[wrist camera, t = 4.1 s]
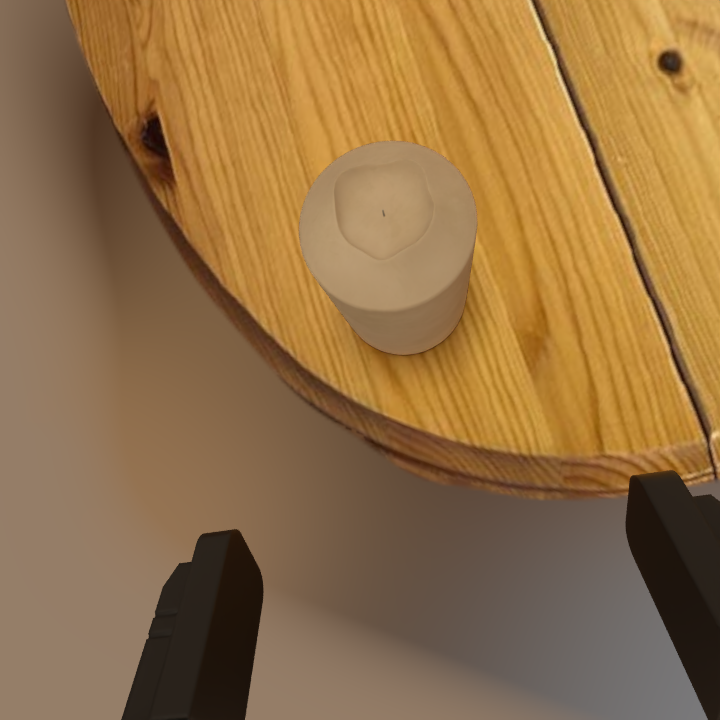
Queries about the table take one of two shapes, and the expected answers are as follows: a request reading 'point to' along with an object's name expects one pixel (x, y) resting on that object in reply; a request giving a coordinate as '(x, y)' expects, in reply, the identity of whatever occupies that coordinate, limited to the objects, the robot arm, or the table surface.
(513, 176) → the table surface
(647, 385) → the table surface
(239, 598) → the robot arm
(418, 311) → the candle
